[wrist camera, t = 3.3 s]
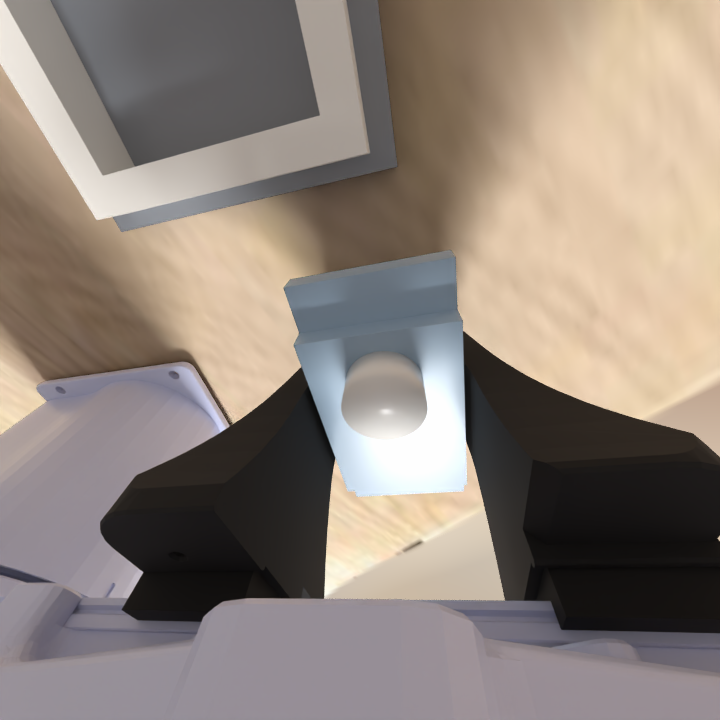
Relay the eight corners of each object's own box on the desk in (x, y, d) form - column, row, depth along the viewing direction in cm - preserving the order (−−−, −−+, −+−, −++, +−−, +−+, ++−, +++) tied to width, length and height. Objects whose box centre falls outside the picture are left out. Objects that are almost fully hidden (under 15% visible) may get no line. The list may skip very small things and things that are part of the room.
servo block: (363, 423, 15) (353, 539, 11) (315, 247, 11) (260, 317, 6) (446, 415, 14) (474, 536, 10) (433, 223, 10) (472, 282, 5)
